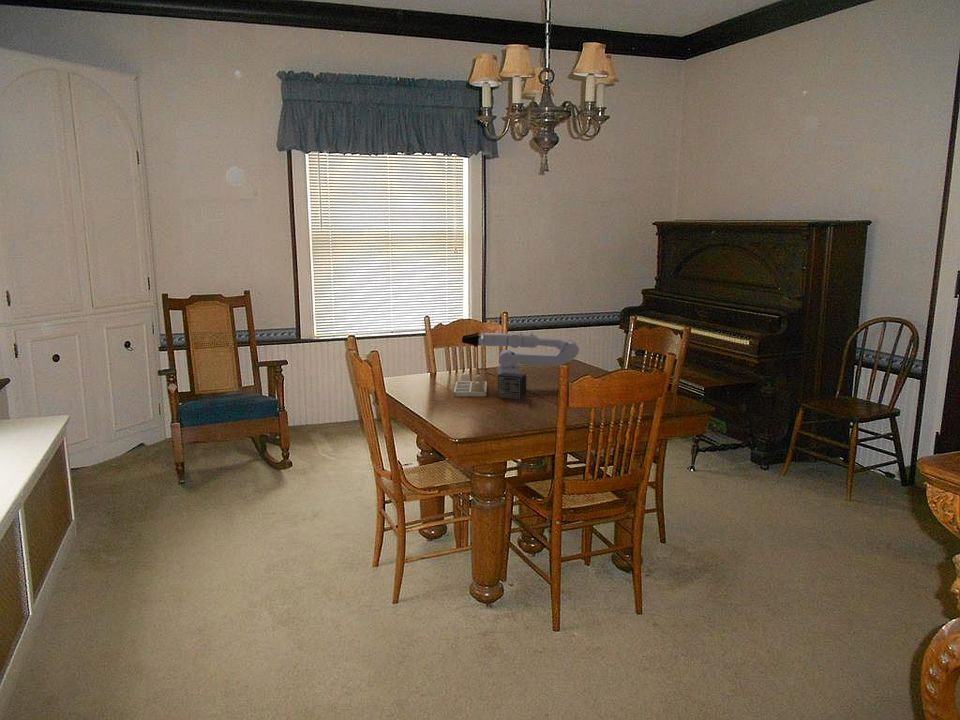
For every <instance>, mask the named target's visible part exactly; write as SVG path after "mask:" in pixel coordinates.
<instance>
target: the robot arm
mask: <svg viewBox="0 0 960 720" xmlns="http://www.w3.org/2000/svg"><path fill="white" fill-rule="evenodd" d="M461 343H463V344H467V345H471V346H474V347H476V348H478V347H479V345H481V347H511V348H513V349H516V348H518V347H520V348H529V349H535V348H536V347H538V346H543V347H552V348H556V349H557V350H558V351H557V353H556V354H551V353H548V354H547V353H522V352H521V353H520V352H517V351H512V350H509V349H503V350H501V352H500V353H499V355H498V357H499V360H498V361H499V364H498V365H497V366H498V369H497V370H498V371H497V372H498V374H497V376H498V375H499V374H501V373H517V374H520V367H519V365H526V366H527V365H529V366H554V367H555V366H558V367H559V366H563V365H565V364H566V363H568V362H570V361H573V360H574V359H575V358H577V356H578V354H579V352H580V349H579V346H578V345H577V343H576V342H575V341H574V340H571V339H569V340H568V339H566V338H550V337H549V338H548V337H547V338H546V337H545V338H544V337H541V338H540V337H538V336H537V335H536V334H534V333H530V334H524V333H522V332H519V333H516V332H514V331H513V332H510V333H502V332H500V333H498V332H495V333H494V332H493V333H492V332H484V330H481V334H480V335H479V331H477V332H475V333H471V334H465V335H462V338H461ZM562 364H563V365H562Z"/></svg>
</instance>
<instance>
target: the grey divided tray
mask: <svg viewBox="0 0 960 720" xmlns="http://www.w3.org/2000/svg"><path fill="white" fill-rule="evenodd" d="M487 382H488V381H486V380H485V381H484V380H483V392H473V384H474V380H473V381H471V380H470V381H459V380H458V381H455V385H454V388H453V397H487V389H488V387H487V386H488V383H487Z"/></svg>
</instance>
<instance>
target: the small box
mask: <svg viewBox="0 0 960 720" xmlns="http://www.w3.org/2000/svg"><path fill="white" fill-rule="evenodd" d="M497 397H498V398H504V399H510V400H511V399H512V400H513V399H514V400H523V399H524V398H526V397H527V374H526V373H519V374H517V373H501V374H499V375H498V374H497Z"/></svg>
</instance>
